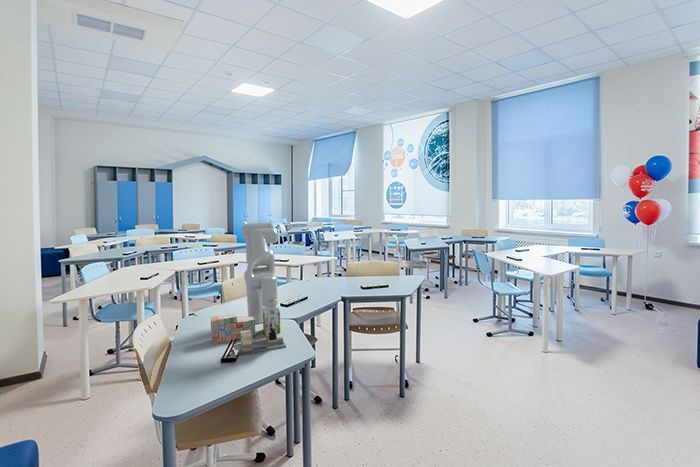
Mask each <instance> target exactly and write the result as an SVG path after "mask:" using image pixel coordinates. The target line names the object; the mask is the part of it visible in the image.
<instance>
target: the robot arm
mask: <svg viewBox="0 0 700 467" xmlns="http://www.w3.org/2000/svg"><path fill="white" fill-rule="evenodd" d="M241 236H242V238H243V241H244V243H245V255H246V256H245V257H246V264H247V266H246V270H245V271H244V277H243V278H244V283H245V287H246V302H247V306H246V307H247V317H253V318H254V319H255V325H257V324H263V309H264V312H265V322H266V324H267V325H268V326H269V331H270V332H269V340H276V330H275V324H276V325H278V316H277V308H278V307H277V305H278V304H279V301H278V298H279V297H278V276H277V275H276V273H275V272H276V271H275V266H276V265H275V255H274V254H275V253H274V251H273V250H272V249H270V248H269V244H276V243H278V240H279V234H278V231H277V228H276V226H274V224H273V223H272V222H253V223H251V222H250V223H245V224H243V225H242V226H241ZM271 324H272V326H270V325H271ZM271 327H272V328H271Z"/></svg>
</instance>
